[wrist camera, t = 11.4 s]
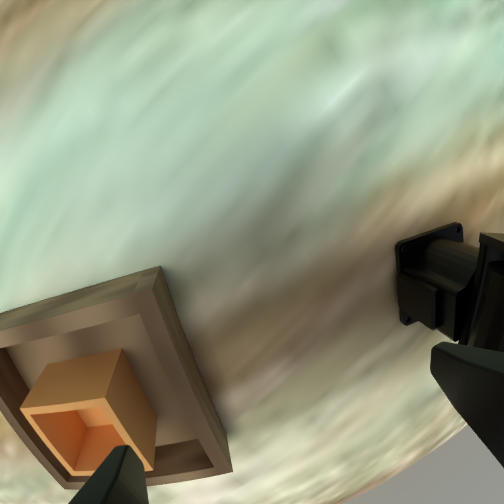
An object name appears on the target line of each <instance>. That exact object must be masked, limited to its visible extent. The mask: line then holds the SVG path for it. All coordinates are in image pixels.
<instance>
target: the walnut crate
mask: <svg viewBox="0 0 504 504" xmlns="http://www.w3.org/2000/svg"><path fill="white" fill-rule="evenodd" d="M121 348H122V350H123V352H124V354H125V356H126V358H127V360H128V362H129V364H130V366H131V368H132V371H133V373H134V375H135V377H136V378H137V380H138V382H139V384H140V386H141V388H142V390H143V392H144V394H145V396H146V398H147V399H148V401H149V403H150V405H151V407H152V409H153V410H154V412H155V414H156V416H157V417H158V419H157V431H156V443H155V457H154V470H152V471H145V477H146V486H153V485H162V484H169V483H176V482H183V481H189V480H195V479H201V478H206V477H211V476H216V475H221V474H226V473H230V472H233V469H232V464H231V458H230V452H229V447H228V441H227V435H226V432H225V430H224V428H223V426H222V423H221V421H220V419H219V417H218V415H217V412H216V410H215V408H214V405H213V403H212V401H211V399H210V396H209V394H208V392H207V389H206V387H205V385H204V382H203V380H202V377H201V375H200V372H199V370H198V368H197V365H196V363H195V360H194V358H193V355H192V353H191V350H190V347H189V345H188V342H187V340H186V337H185V334H184V332H183V329H182V326H181V324H180V321H179V318H178V316H177V313H176V310H175V307H174V305H173V302H172V299H171V296H170V293H169V290H168V287H167V284H166V281H165V279H164V276H163V273H162V270H161V267H160V266H158V267H154V268H151V269H147V270H144V271H140V272H137V273H134V274H130V275H127V276H123V277H120V278H116V279H113V280H110V281H106V282H103V283H99V284H96V285H93V286H89V287H86V288H82V289H79V290H76V291H72V292H69V293H66V294H62V295H59V296H56V297H52V298H49V299H46V300H42V301H39V302H36V303H32V304H29V305H26V306H22V307H19V308H16V309H12V310H9V311H6V312H3V313H0V411H1V413H2V414H3V415H4V417H5V418H6V420H7V421H8V422H9V424H10V425H11V427H12V428H13V429H14V431H15V432H16V433H17V435H18V436H19V437H20V439H21V440H22V441H23V442H24V444H25V445H26V446H27V447H28V449H29V450H30V451H31V452H32V454H33V455H34V456H35V457H36V458H37V460H38V461H39V462H40V463H41V464H42V465H43V466H44V468H45V469H46V470H47V471H48V472H49V473H50V474H51V475H52V476H53V477H54V479H55V480H56V481H57V482H58V483H59V484H60V485H61V486H62V487H63V488H64V489H78V490H80V489H81V488H82V486H83V485H84V484H85V483H86V481H87V480H88V479H89V478H90V477H91V476H72V475H71V474H70V473H69V472H68V471H67V469H66V468H65V467H64V466H63V465H62V464H61V462H60V461H59V460H58V459H57V458H56V457H55V455H54V454H53V453H52V452H51V450H50V449H49V448H48V447H47V445H46V444H45V443H44V442H43V440H42V439H41V438H40V436H39V435H38V434H37V432H36V431H35V430H34V428H33V427H32V426H31V424H30V423H29V421H28V420H27V419H26V417H25V416H24V414H23V413H22V411H21V410H20V407H21V405H22V404H23V402H24V400H25V399H26V397H27V395H28V394H29V392H30V390H31V389H32V387H33V386H34V384H35V382H36V381H37V379H38V378H39V376H40V375H41V373H42V371H43V370H44V368H45V367H46V365H47V364H51V363H56V362H61V361H66V360H71V359H75V358H80V357H85V356H89V355H94V354H99V353H103V352H107V351H112V350H116V349H121Z"/></svg>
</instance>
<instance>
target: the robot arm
mask: <svg viewBox="0 0 504 504" xmlns="http://www.w3.org/2000/svg"><path fill="white" fill-rule="evenodd" d="M456 229H457V231H456ZM479 242H480V247H479V248H477V247H474V246H471V245H468V244H465V243H463V227H462V225H461V224H460V223H457V222H455V223H452V224H449V225H446V226H443V227H440V228H437V229H435V230H432V231H429V232H426V233H423V234H420V235H417V236H414V237H411V238H408V239H405V240H402V241H400V242H398V243H397V245H396V249H395V251H396V261H397V272H398V274H397V287H398V303H399V307H400V321H401V323H402V324H404V325H406V326H408V325H410V324H412V323H415V322H417V321H420V322H421V323H423V324H424V325H425V326H427V327H428V328H430V329H431V330H433V331H434V330H435V329H437V330H439V331H440V332H442V333H443V334H444V335H446V336H447V337H449V338H450V339H452V340H453V341H454V342H456V341H458V340H459V342H458V344H454V343H449V342H441V343H439V344H437V345H435V346H434V347H433V348H432V350H431V362H430V371H431V374H432V375H433V377H434V378H435V380H436V381H437V383H438V384H439V386H440V387H441V389H442V390H443V392H444V393H445V395H446V396H447V398H448V399H449V401H450V402H451V404H452V405H453V406H454V408H455V409H456V410H457V412H458V413H459V414H460V415H461V416H462V418H463V419H464V420H465V421H466V422H467V424H468V425H469V426H470V427H471V428H472V430H473V431H474V432H475V433H476V434H477V436H478V437H479V438H480V439H481V440H482V442H483V443H484V444H485V445H486V446H487V448H488V449H489V450H490V451H491V453H492V454H493V455H494V456H495V457H496V459H497V460H498V461H499V463H500V464H501V465H502V466H503V468H504V234H498V233H480V237H479ZM403 246H404V250H403V251H401V250H402V247H403ZM407 317H408V319H407V320H406V318H407ZM68 504H149V501H148V494H147V486H146V477H145V469H144V465H143V463H142V461H141V459H140V458H139V457H138V455H137V454H136V453H135V451H134V450H133V448H132V447H131V446H130V445H119V446H115V447H114V448H113V450H112V451H111V452H110V453H109V454H108V456H107V457H106V458H105V459H104V461H103V462H102V463H101V464H100V466H99V467H98V468H97V469H96V470H95V472H94V473H93V474H92V475H91V477H90V478H89V479H88V480H87V481H86V483H85V484H84V485H83V486H82V488H81V489H80V490H79V491H78V492H77V494H76V495H75V496H74V497H73V499H72V500H71V501H70V502H69V503H68Z"/></svg>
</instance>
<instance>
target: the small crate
mask: <svg viewBox="0 0 504 504" xmlns="http://www.w3.org/2000/svg"><path fill="white" fill-rule="evenodd" d="M20 410H21V411H22V413H23V414H24V416H25V417H26V419H27V420H28V421H29V423H30V424H31V426H32V427H33V428H34V430H35V431H36V432H37V434H38V435H39V436H40V438H41V439H42V440H43V442H44V443H45V444H46V445H47V447H48V448H49V449H50V450H51V452H52V453H53V454H54V455H55V457H56V458H57V459H58V460H59V461H60V462H61V464H62V465H63V466H64V467H65V468H66V469H67V471H68V472H69V473H70V474H71V475H72V476H91V475H92V474H93V473H94V472H95V470H96V469H97V468H98V467H99V466H100V464H101V463H102V462H103V461H104V459H105V458H106V457H107V456H108V454H109V453H110V452H111V451H112V450H113V448H114V447H115V446H119V445H130V446H131V447H132V448H133V450H134V451H135V453H136V454H137V455H138V457H139V458H140V459H141V461H142V463H143V465H144V469H145V471H152V470H154V457H155V443H156V431H157V419H158V417H157V416H156V414H155V412H154V410H153V409H152V407H151V405H150V403H149V401H148V399H147V398H146V396H145V394H144V392H143V390H142V388H141V386H140V384H139V382H138V380H137V378H136V377H135V375H134V373H133V371H132V368H131V366H130V364H129V362H128V360H127V358H126V356H125V354H124V352H123V350H122V348H121V349H116V350H112V351H107V352H103V353H99V354H94V355H89V356H85V357H80V358H75V359H71V360H66V361H61V362H56V363H51V364H47V365H46V367H45V368H44V370H43V371H42V373H41V375H40V376H39V378H38V379H37V381H36V382H35V384H34V386H33V387H32V389H31V390H30V392H29V394H28V395H27V397H26V399H25V400H24V402H23V404H22V405H21V407H20Z"/></svg>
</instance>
